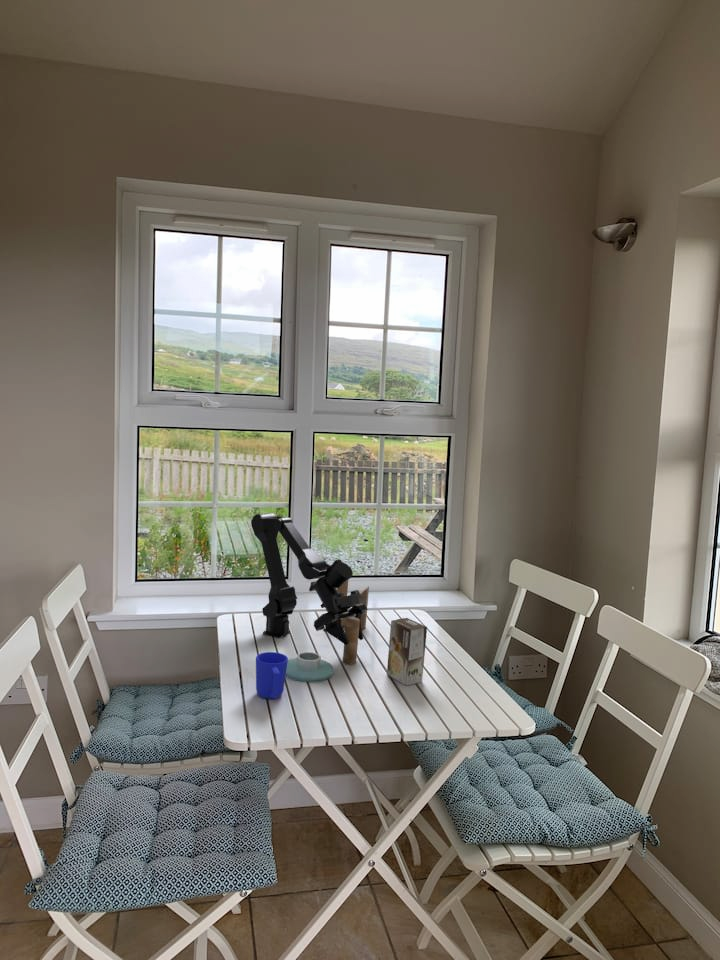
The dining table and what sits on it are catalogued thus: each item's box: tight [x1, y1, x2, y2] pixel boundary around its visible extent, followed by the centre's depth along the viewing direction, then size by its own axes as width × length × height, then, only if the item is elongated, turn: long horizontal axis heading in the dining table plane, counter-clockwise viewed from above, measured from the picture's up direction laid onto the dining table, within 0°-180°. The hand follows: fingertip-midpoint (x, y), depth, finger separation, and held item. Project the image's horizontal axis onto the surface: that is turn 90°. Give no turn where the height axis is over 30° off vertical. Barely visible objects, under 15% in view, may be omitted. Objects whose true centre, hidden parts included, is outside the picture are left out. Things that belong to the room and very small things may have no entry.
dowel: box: [342, 617, 360, 666], centre depth 219 cm, size 4×4×13 cm
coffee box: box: [386, 617, 428, 686], centre depth 210 cm, size 9×6×16 cm
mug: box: [255, 651, 289, 700], centre depth 190 cm, size 8×12×10 cm
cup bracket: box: [285, 651, 334, 683], centre depth 210 cm, size 14×14×4 cm
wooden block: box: [336, 580, 370, 631], centre depth 251 cm, size 4×11×18 cm, turn 79°
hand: (354, 641), depth 218 cm, fingers open, 6 cm apart
